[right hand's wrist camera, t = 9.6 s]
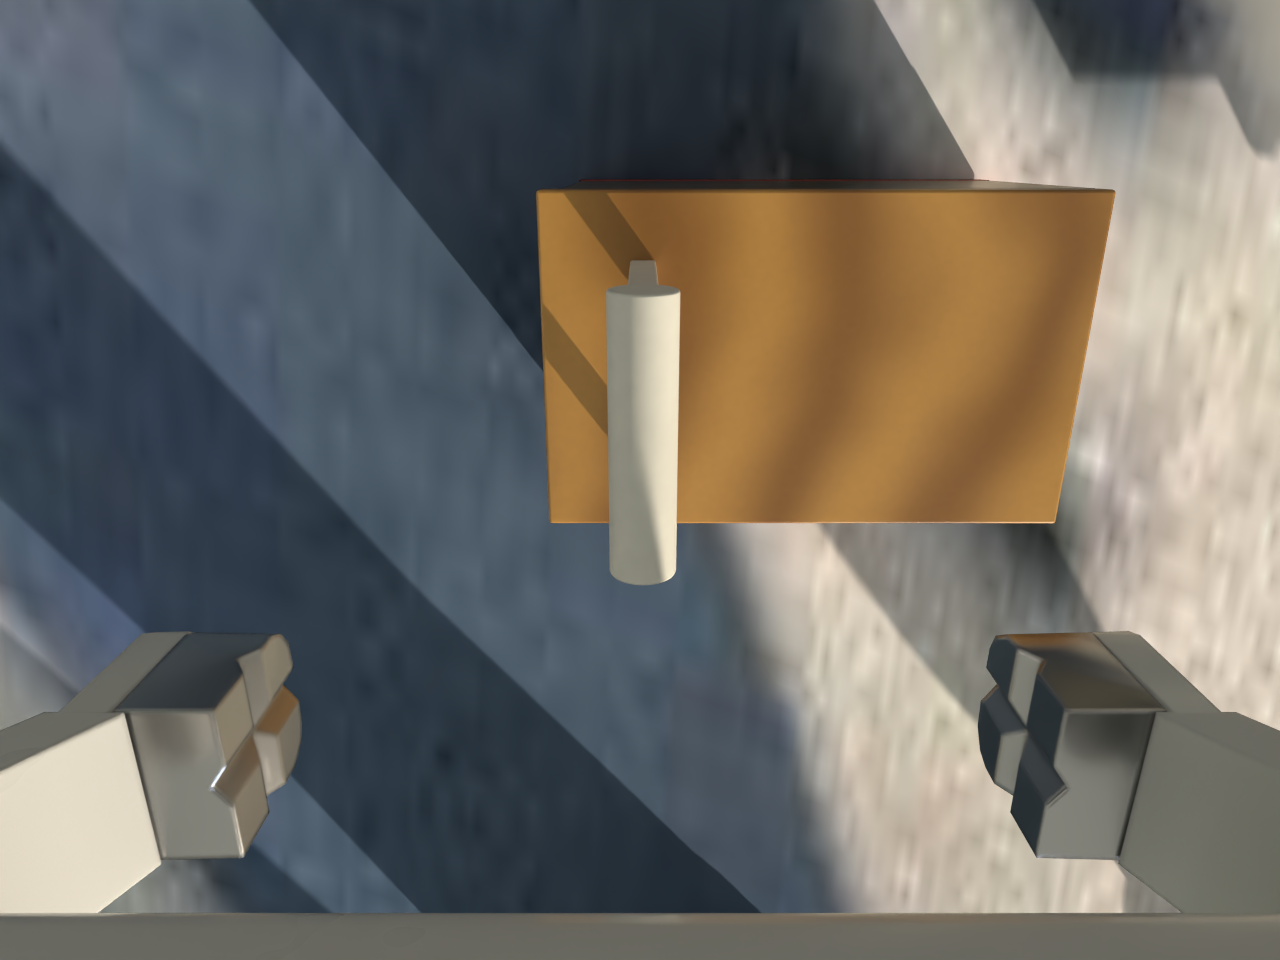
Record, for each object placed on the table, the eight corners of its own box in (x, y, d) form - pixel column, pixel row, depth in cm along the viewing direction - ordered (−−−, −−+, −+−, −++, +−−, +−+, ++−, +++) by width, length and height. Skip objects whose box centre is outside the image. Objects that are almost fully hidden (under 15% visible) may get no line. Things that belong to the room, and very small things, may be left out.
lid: (552, 512, 28) (516, 651, 20) (539, 188, 24) (490, 204, 16) (1043, 512, 27) (1200, 652, 20) (1100, 188, 24) (1317, 204, 16)
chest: (586, 426, 36) (568, 512, 28) (580, 179, 33) (558, 188, 24) (946, 426, 36) (1042, 512, 28) (978, 179, 33) (1099, 188, 24)
